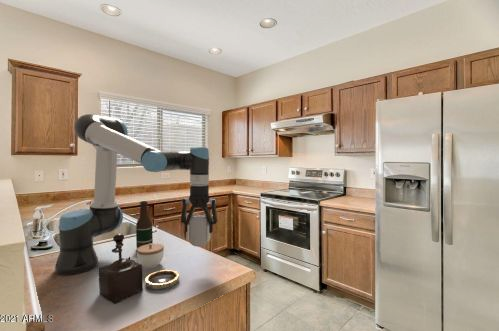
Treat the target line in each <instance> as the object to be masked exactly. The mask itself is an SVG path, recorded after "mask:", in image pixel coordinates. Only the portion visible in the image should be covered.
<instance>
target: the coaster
mask: <svg viewBox="0 0 499 331" xmlns="http://www.w3.org/2000/svg"><path fill="white" fill-rule="evenodd" d="M179 279H180V275H179V272H178V271H175V270H172V269H163V270H156V271H154V272H151V273H150V274H148V275H147V276H146V277H145V287H146V288H147V289H149V290H150V291H151V290H152V291H163V290H167V289H170V288H173V287H175V286H176V285H177V284H178V283H179Z"/></svg>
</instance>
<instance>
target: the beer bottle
mask: <svg viewBox="0 0 499 331" xmlns="http://www.w3.org/2000/svg"><path fill="white" fill-rule="evenodd" d="M139 204H140V206H139V208H140V209H139V211H140V212H139V217H138V219H137V221H136V224H135V225H136V226H135V229H136V230H135V233H136V234H135V235H136V236H135V239H136V240H135V241H136V242H135V243H136V250H137V249H138V248H139V247H140V246H143V245H147V244H154V243H153V222H152V220H151V218H150V217H149V211H148V210H149V209H148V204H149V202H148V201H147V200H142V201H140V202H139Z"/></svg>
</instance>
